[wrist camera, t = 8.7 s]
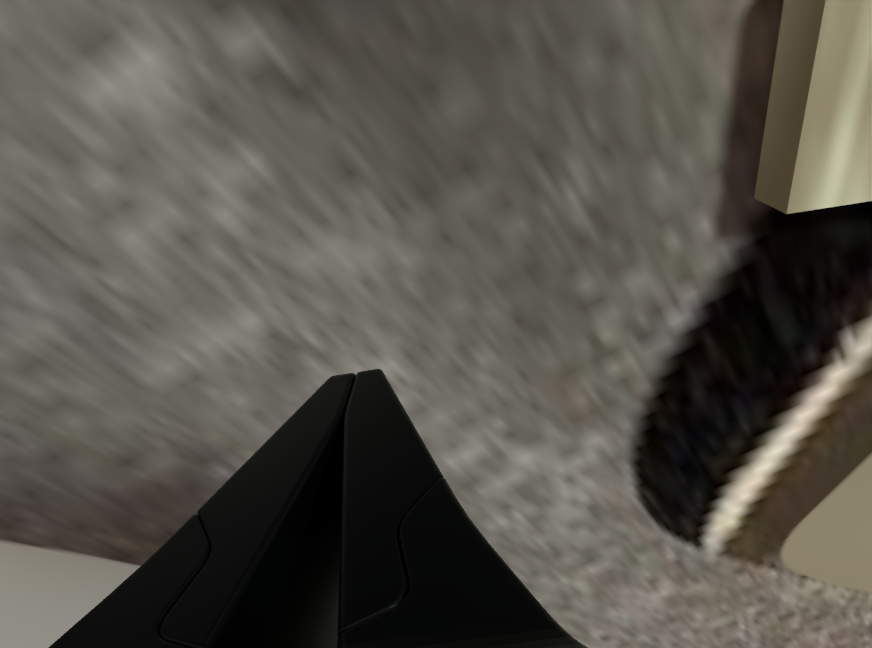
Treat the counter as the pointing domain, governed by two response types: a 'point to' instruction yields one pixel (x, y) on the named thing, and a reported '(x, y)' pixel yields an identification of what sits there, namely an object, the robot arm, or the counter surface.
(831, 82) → the birch tile
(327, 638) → the robot arm
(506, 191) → the counter surface
